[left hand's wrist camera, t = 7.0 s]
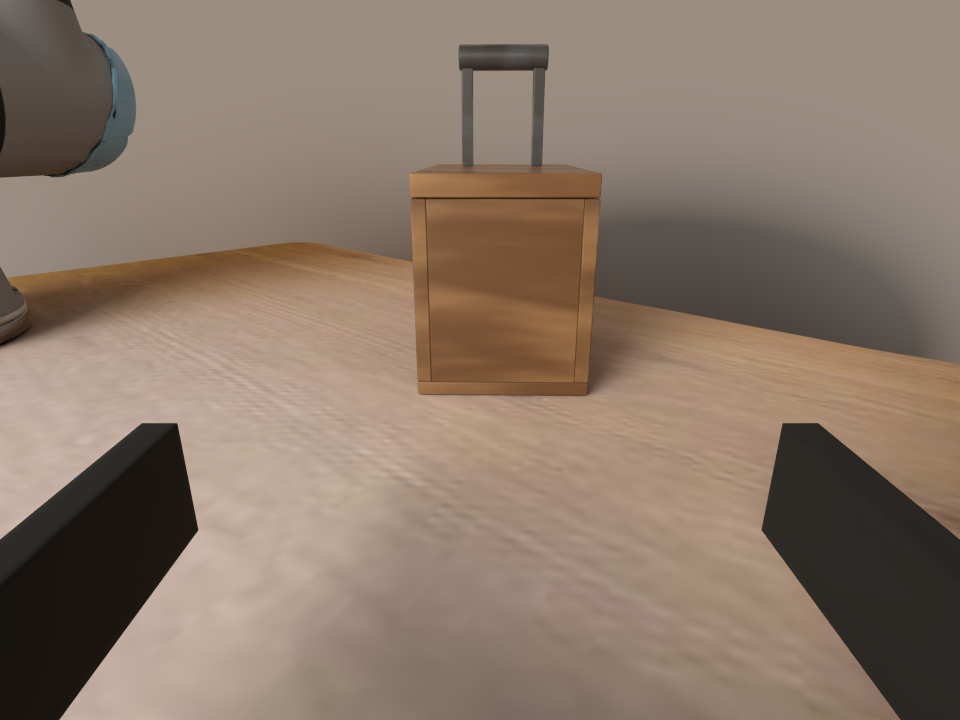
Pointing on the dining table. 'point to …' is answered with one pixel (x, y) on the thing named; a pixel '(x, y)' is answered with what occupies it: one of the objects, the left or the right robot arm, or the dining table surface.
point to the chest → (504, 294)
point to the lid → (504, 177)
